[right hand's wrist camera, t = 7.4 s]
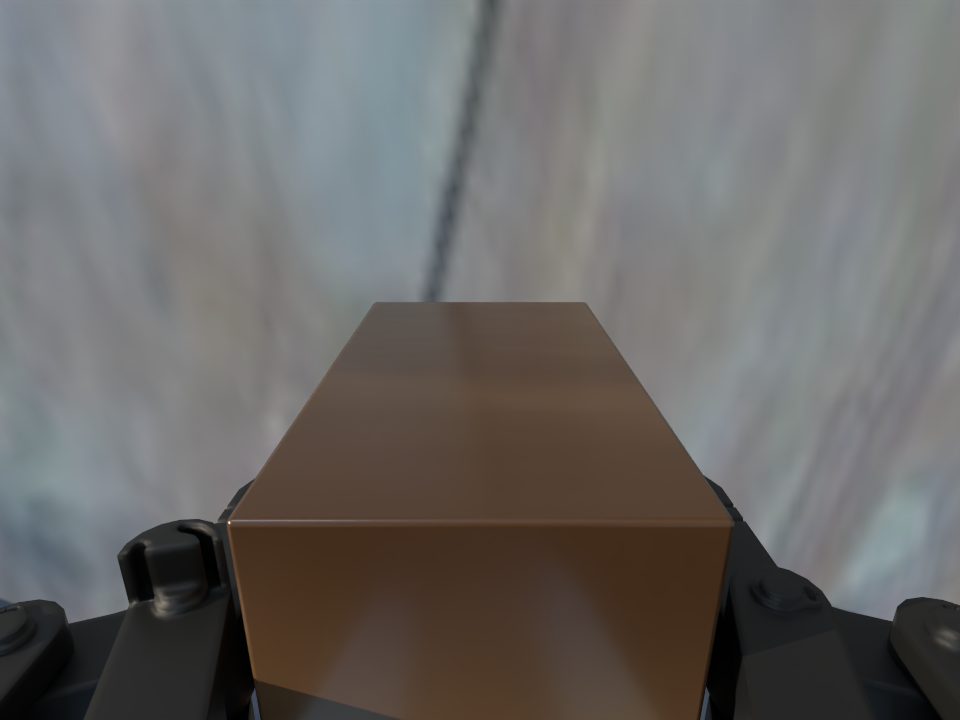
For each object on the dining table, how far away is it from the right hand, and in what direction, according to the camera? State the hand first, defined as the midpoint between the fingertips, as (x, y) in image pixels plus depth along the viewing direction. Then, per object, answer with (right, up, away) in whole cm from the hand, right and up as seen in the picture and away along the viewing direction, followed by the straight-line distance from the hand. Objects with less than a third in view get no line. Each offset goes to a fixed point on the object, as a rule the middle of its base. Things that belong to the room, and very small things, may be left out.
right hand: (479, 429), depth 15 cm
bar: (0, -8, +4) cm, 9 cm away
